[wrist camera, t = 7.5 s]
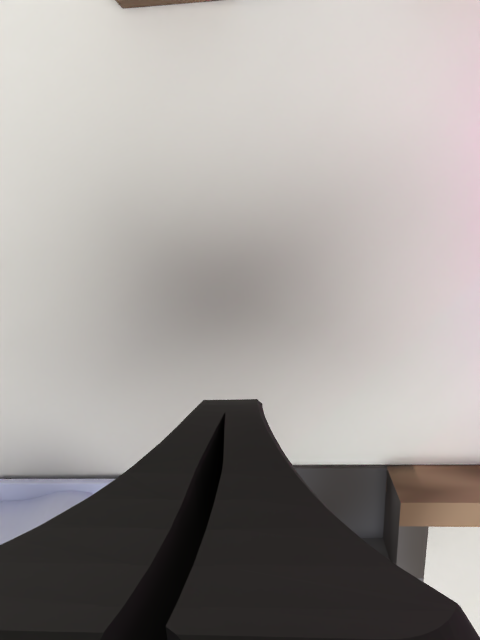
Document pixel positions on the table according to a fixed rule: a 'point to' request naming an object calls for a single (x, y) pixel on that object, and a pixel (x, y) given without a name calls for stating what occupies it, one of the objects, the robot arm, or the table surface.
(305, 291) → the table surface
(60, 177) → the table surface
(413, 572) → the trap channel
